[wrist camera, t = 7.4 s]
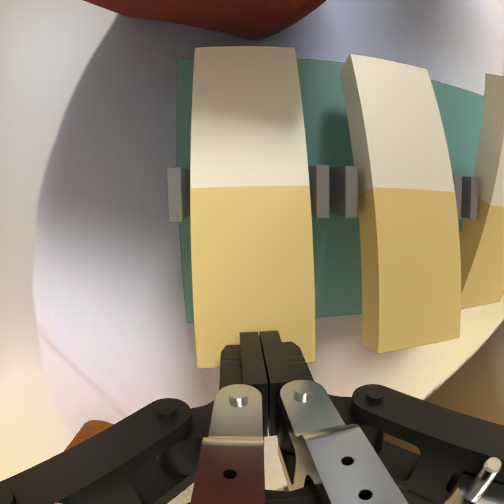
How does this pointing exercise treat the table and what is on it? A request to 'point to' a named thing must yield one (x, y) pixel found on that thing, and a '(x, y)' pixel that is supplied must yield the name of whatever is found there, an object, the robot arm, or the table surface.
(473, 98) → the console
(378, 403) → the robot arm
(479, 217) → the rocker
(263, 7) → the plant pot
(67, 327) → the table surface
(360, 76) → the rocker
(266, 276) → the rocker
